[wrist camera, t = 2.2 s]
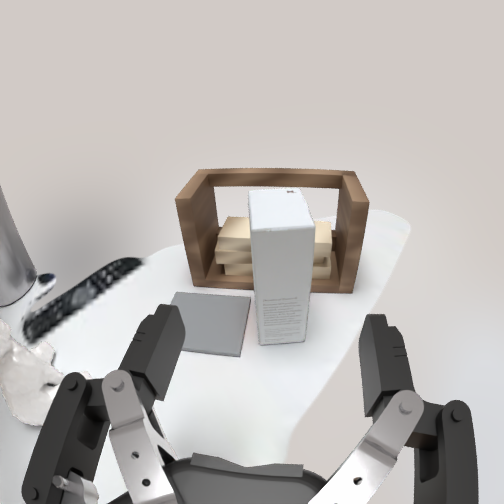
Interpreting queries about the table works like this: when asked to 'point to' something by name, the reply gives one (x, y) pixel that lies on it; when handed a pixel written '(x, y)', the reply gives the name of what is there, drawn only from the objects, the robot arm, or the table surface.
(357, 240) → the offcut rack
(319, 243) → the offcut stack
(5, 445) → the table surface
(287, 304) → the skincare box
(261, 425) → the table surface
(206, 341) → the grey mat
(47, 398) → the sitting furry creature
